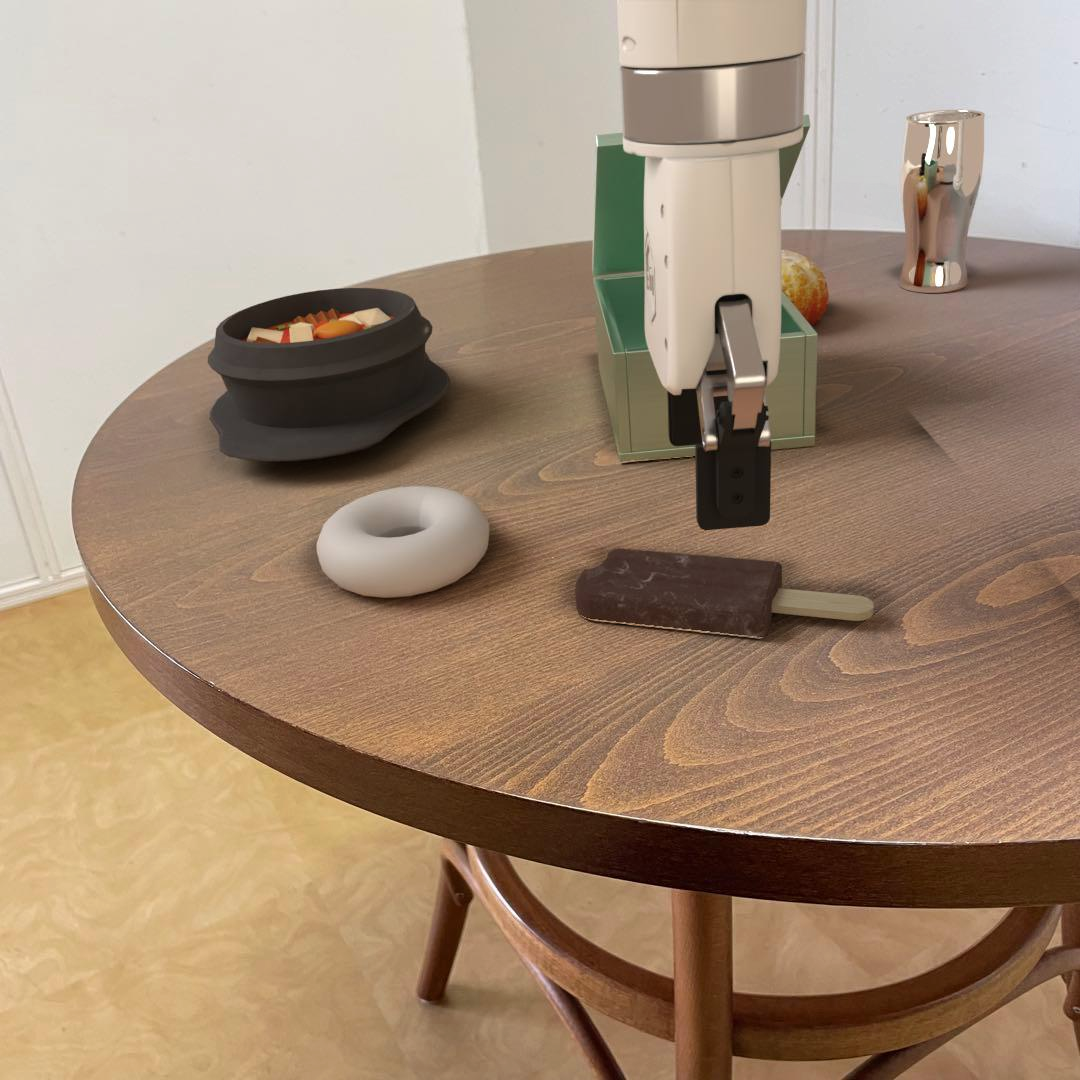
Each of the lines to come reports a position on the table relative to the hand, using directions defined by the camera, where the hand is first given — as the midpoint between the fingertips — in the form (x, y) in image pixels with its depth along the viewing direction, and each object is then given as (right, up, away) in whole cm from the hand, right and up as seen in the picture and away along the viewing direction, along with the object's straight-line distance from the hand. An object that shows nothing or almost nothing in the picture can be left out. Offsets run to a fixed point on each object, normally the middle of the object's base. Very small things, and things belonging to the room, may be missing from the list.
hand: (715, 480), depth 55 cm
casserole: (-25, +7, +34) cm, 42 cm away
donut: (-16, -4, +11) cm, 20 cm away
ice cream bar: (+1, -7, +4) cm, 8 cm away
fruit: (+12, +16, +45) cm, 49 cm away
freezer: (+3, +7, +29) cm, 30 cm away
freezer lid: (+2, +20, +24) cm, 31 cm away
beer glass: (+28, +21, +51) cm, 62 cm away
